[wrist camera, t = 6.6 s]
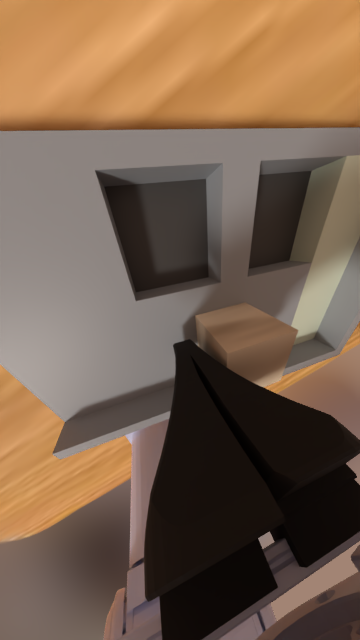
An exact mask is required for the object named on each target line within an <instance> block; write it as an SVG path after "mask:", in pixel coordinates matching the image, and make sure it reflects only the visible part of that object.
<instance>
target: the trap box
mask: <svg viewBox="0 0 360 640" xmlns="http://www.w3.org/2000/svg"><path fill="white" fill-rule="evenodd" d="M241 303H247V304H249V305H251V306H253V307H255V308H257V309H259V310H261V311H263V312H265V313H267V314H268V315H270V316H272V317H274V318H276V319H278V320H280V321H282V322H284V323H286V324H288V325H290V326H292V327H293V328H295V329H297V330H298V333H297V336H296V339H295V341H294V344H293V347H292V350H291V353H290V355H289V358H288V361H287V364H286V366H285V369H284V372H283V375H282V376H284V375H286V374H289V373H292V372H294V371H297V370H300V369H302V368H305V367H308V366H310V365H313V364H316V363H318V362H321V361H324V360H326V359H329V358H332V357H334V356H337V355H339V354H340V352H341V351H342V349H343V347H344V346H345V344H346V343H347V341H348V339H349V338H350V336H351V334H352V333H353V331H354V330H355V328H356V326H357V325H358V323H359V321H360V127H357V128H258V129H159V130H60V131H0V365H2V366H3V367H4V368H5V369H6V370H7V371H8V372H9V373H11V374H12V375H13V376H14V377H15V378H16V379H17V380H18V381H20V382H21V383H22V384H23V385H24V386H25V387H26V388H27V389H28V390H30V391H31V392H32V393H33V394H34V395H35V396H36V397H37V398H39V399H40V400H41V401H42V402H43V403H44V404H45V405H46V406H48V407H49V408H50V409H51V410H52V411H53V412H54V413H55V414H56V415H58V416H59V417H60V418H61V419H62V420H63V421H64V422H65V424H64V426H63V429H62V431H61V434H60V436H59V439H58V441H57V444H56V446H55V449H54V451H53V455H54V456H56V457H57V458H59V459H63V458H66V457H68V456H71V455H74V454H76V453H79V452H82V451H84V450H87V449H90V448H92V447H95V446H98V445H100V444H103V443H106V442H108V441H111V440H114V439H116V438H119V437H122V436H124V435H127V434H130V433H132V432H135V431H138V430H140V429H143V428H146V427H148V426H151V425H154V424H156V423H159V422H161V421H164V420H167V419H169V417H170V412H171V406H172V400H173V393H174V384H175V369H176V367H175V353H174V348H173V345H174V343H178V342H181V341H185V340H188V339H190V340H192V341H193V342H194V343H195V344H196V345H197V346H198V341H197V330H196V319H195V315H199V314H203V313H207V312H211V311H214V310H218V309H222V308H226V307H230V306H233V305H237V304H241Z"/></svg>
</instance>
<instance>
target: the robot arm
mask: <svg viewBox="0 0 360 640" xmlns="http://www.w3.org/2000/svg"><path fill="white" fill-rule="evenodd" d="M173 348H174V353H175V367H176V369H175V384H174V393H173V400H172V406H171V412H170V417H169V419H167V420H164V421H161V422H159V423H156V424H154V425H151V426H148V427H146V428H143V429H140V430H138V431H135V432H132V433H130V434H127V435H125V436H126V437H127V439H128V440H129V441H130V443H131V444H132V471H131V521H130V524H131V525H130V569H131V570H129V571H128V572H127V574H128V575H127V597H126V595H125V594H126V593H125V588H123V589H119V590H118V591H117V593H116V596H115V601H114V602H113V604H112V606H111V608H110V611H109V613H108V616H107V620H106V626H105V633H104V640H360V545H359V546H358V547H357V548H356V550H355V551H354V552H353V554H352V555H351V560H352V562H353V563H354V565H355V566H356V568H357V569H358V571H359V572H357V573H355V574H354V575H352V576H350V577H348V578H347V579H345V580H343V581H341V582H340V583H338V584H336V585H334V586H333V587H331V588H329V589H328V590H326V591H324V592H322V593H321V594H319V595H317V596H315V597H313V598H312V599H310V600H308V601H307V602H305V603H303V604H302V605H300V606H298V607H297V608H296V609H294V610H292V611H291V612H289V613H288V614H286V615H285V616H284V617H282V618H281V619H280V620H278V621H276V618H275V615H274V612H273V610H272V607H271V604H270V603H271V602H273V601H274V600H276V599H277V598H278V597H280V596H281V595H283V594H284V593H286V592H287V591H288V590H290V589H291V588H293V587H294V586H296V585H297V584H299V583H300V582H301V581H303V580H304V579H306V578H307V577H309V576H310V575H311V574H313V573H314V572H316V571H317V570H319V569H320V568H321V567H323V566H324V565H326V564H327V563H329V562H330V561H331V560H332V559H334V558H336V557H337V556H339V555H340V554H341V553H343V552H344V551H346V550H347V549H349V548H350V547H351V546H353V545H354V544H356V543H357V542H359V541H360V485H359V484H358V483H357V482H356V481H355V480H354V479H355V478H357V476H356V474H355V473H354V472H353V471H352V470H351V469H350V468H349V467H348V465H346V463H347V462H348V461H349V460H351V459H352V458H354V457H355V456H357V455H358V454H359V453H360V440H359V439H358V438H357V437H356V436H354V435H353V434H352V433H351V432H350V431H349V430H348V429H347V428H345V427H344V426H343V425H342V424H341V423H339V422H338V421H337V420H336V419H335V418H333V417H332V416H331V415H329V414H326V413H324V412H321V411H318V410H316V409H313V408H310V407H308V406H305V405H302V404H300V403H297V402H295V401H292V400H290V399H287V398H285V397H282V396H280V395H278V394H276V393H274V392H272V391H269V390H267V389H265V388H263V387H261V386H259V385H257V384H255V383H253V382H251V381H249V380H247V379H245V378H244V377H242V376H240V375H238V374H237V373H235V372H233V371H232V370H230V369H228V368H227V367H225V366H224V365H222V364H221V363H219V362H218V361H217V360H215V359H214V358H213V357H211V356H210V355H209V354H207V353H206V352H205V351H203V350H202V349H201V348H200V347H199V346H197V345H196V344H195V343H194V342H193V341H192V340H190V339H188V340H185V341H181V342H178V343H174V345H173ZM269 531H270V533H271V535H272V537H273V539H274V541H275V542H274V543H272V544H271V545H269V546H267V547H266V548H264V549H262V547H261V545H260V542H259V540H258V538H259V537H260V536H262V535H264V534H266V533H267V532H269Z"/></svg>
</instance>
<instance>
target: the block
mask: <svg viewBox="0 0 360 640" xmlns="http://www.w3.org/2000/svg"><path fill="white" fill-rule="evenodd" d="M195 319H196V330H197V341H198V346H199V347H200V348H201V349H202V350H203V351H205V352H206V353H207V354H209V355H210V356H211V357H213V358H214V359H215V360H217V361H218V362H219V363H221V364H222V365H224V366H225V367H227V368H228V369H230V370H232V371H233V372H235V373H237V374H238V375H240V376H242V377H244V378H245V379H247V380H249V381H251V382H253V383H255V384H257V385H259V386H261V387H265V386H268V385H270V384H273V383H276V382H278V381H280V380H281V377H282V375H283V372H284V369H285V366H286V364H287V361H288V358H289V355H290V353H291V350H292V347H293V344H294V341H295V339H296V336H297V333H298V330H297V329H295V328H293V327H292V326H290V325H288V324H286V323H284V322H282V321H280V320H278V319H276V318H274V317H272V316H270V315H268V314H267V313H265V312H263V311H261V310H259V309H257V308H255V307H253V306H251V305H249V304H247V303H241V304H237V305H233V306H230V307H226V308H222V309H218V310H214V311H211V312H207V313H203V314H199V315H195Z"/></svg>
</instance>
